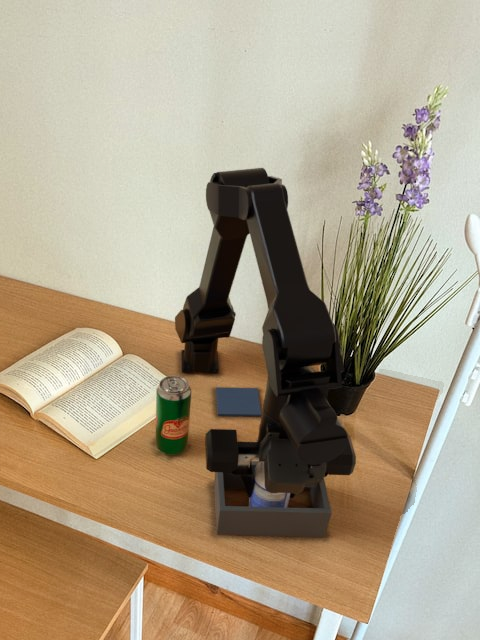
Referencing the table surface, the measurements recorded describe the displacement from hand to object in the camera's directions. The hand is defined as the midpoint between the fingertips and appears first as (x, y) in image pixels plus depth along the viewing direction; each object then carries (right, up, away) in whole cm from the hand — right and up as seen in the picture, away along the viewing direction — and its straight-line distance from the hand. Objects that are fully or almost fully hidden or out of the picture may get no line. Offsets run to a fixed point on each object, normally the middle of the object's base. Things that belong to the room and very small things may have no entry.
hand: (269, 495), depth 96 cm
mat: (-1, +15, +19) cm, 24 cm away
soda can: (-13, +7, +12) cm, 19 cm away
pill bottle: (0, -2, +2) cm, 3 cm away
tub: (0, -2, +2) cm, 3 cm away
